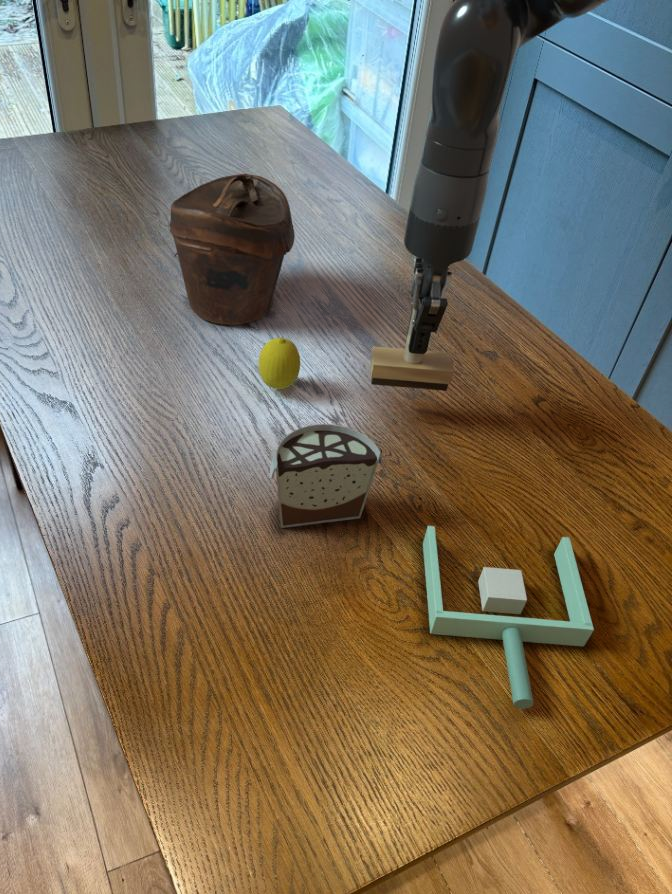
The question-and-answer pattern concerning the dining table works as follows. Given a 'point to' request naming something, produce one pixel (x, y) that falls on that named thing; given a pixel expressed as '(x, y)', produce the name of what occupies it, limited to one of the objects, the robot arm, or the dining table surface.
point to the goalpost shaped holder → (512, 618)
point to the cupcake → (323, 474)
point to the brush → (411, 367)
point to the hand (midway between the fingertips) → (416, 344)
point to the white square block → (502, 590)
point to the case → (232, 246)
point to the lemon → (279, 363)
